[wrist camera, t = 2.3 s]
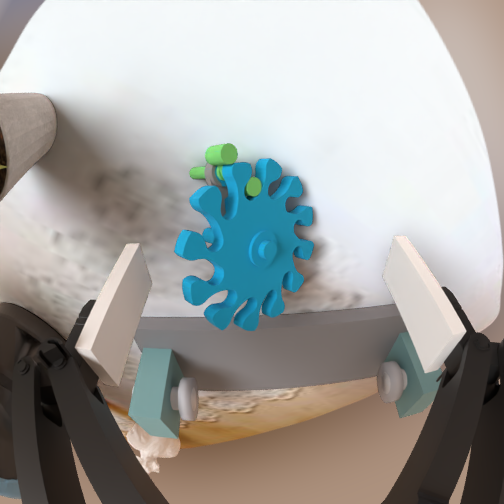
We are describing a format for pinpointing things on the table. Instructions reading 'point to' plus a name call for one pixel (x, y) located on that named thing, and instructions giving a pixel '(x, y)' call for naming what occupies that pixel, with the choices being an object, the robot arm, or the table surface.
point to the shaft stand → (273, 361)
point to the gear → (244, 238)
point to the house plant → (23, 134)
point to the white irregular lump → (152, 447)
